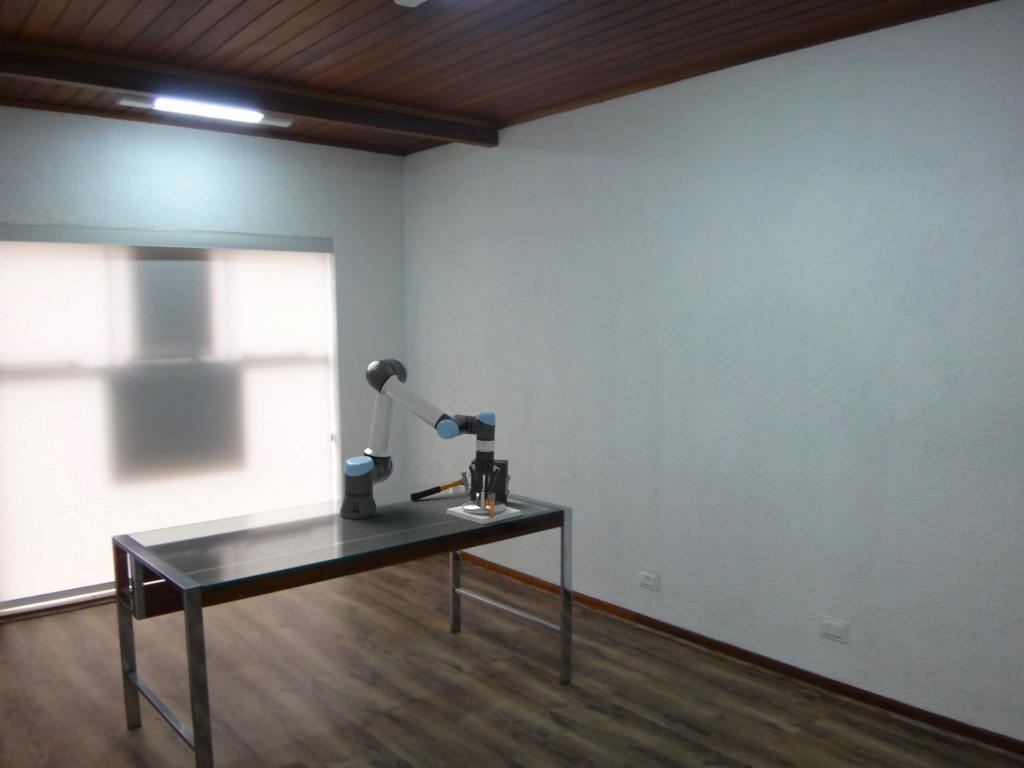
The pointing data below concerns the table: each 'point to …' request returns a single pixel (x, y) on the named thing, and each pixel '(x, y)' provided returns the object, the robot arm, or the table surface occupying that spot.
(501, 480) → the router
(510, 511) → the turntable base
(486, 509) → the turntable
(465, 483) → the hammer
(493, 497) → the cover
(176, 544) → the table surface
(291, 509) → the table surface
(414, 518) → the table surface
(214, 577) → the table surface
